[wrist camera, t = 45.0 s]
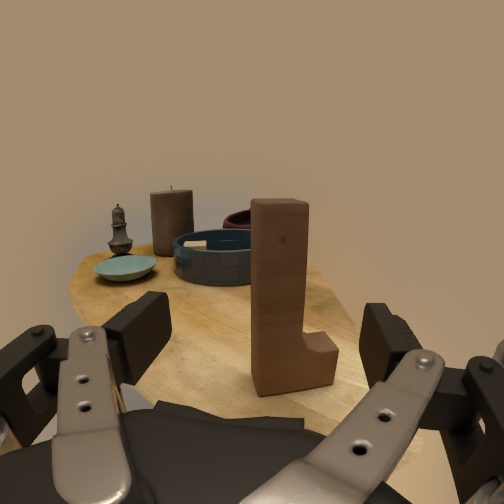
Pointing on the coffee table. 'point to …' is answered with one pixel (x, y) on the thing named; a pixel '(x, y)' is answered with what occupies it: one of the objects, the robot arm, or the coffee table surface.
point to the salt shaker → (119, 234)
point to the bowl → (238, 220)
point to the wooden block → (283, 302)
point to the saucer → (125, 267)
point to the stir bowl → (215, 257)
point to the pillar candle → (170, 218)
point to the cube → (196, 245)
